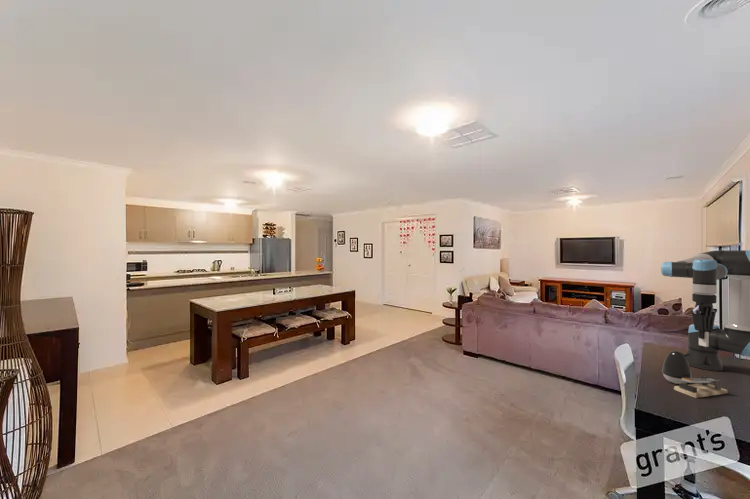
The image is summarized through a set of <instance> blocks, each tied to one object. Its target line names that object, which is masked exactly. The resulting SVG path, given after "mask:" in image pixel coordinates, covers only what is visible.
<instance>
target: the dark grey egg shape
mask: <svg viewBox="0 0 750 499" xmlns="http://www.w3.org/2000/svg"><path fill="white" fill-rule="evenodd" d="M687 356H690V354H689V353H688V354H686V353H683V352H681V351H678V350H671V351H670V352H669V353H668V354H667V355H666V357H665V359H664V361H663V365H662V368H661V369H662V370H661V372H662V374H663V377H664V379H666V381H668V382H669V383H672V384H675V385H679V384H681V383H684V384H687V385H688V384H689V382H686V381H684V380H682V378H692V370H691V366H690V365H689V363H688V361H687V359H686V357H687Z"/></svg>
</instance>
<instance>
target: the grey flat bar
mask: <svg viewBox="0 0 750 499" xmlns="http://www.w3.org/2000/svg"><path fill="white" fill-rule="evenodd" d="M682 380H684V381H686V382H688V384H689V383H690V384H698V383H708V384H710V383H714V384H715V380H716V379H713V378H709V377H708V378H702V377H691V378H682Z"/></svg>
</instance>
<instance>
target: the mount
mask: <svg viewBox="0 0 750 499" xmlns="http://www.w3.org/2000/svg"><path fill="white" fill-rule="evenodd" d="M701 378H709V376H707V375H701ZM714 380H715V383H714V385H713V384H710V383H690V384H688V383H687V384H684V383H681V384H678V385H675V386H674V387H673V391H677V392H679V393H682V394H684V395H687V396H690V397H691V398H692V397H693V398H695V399H697V398H704V397H710V396H711V397H713V396H718V395H719V396H720V395H727V394H728V389H725V388H722V380H721V379H714Z"/></svg>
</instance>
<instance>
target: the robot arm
mask: <svg viewBox="0 0 750 499" xmlns="http://www.w3.org/2000/svg"><path fill="white" fill-rule="evenodd" d="M660 273H661V275H662V276H664V277H670V278H683V279H684V278H685V279H688V278H689V279H692V285H691V287H692V292H693V293H692V296H691V298H692V299H691V300H692V302H695V305H694V308H693V309H692V308H691V309H690V311H691V315H692V321H693V323H692V324H690V325H689V326H688V331H687V334H688V336H687V337H688V338H687V339H688V340H687V342H688V343H687V344H688V345H687V351H686V353H685V354H688V353H689V354H690V356H687V357H686V359H687V361H688V363H689V366H690V367H693V368H697V369H701V370H707V371H714V372H722V371H723V370H724V369H723V368H724V366H723V363H722V360H721V358H720V355H719V352H725V353H729V354H735V355H739V356H742V357H750V250H748V249H747V250H746V249H745V250H743V249H742V250H740V249H739V250H734V249H733V250H729V249H727V250H722V249H718V250H717V249H716V250H710V251H705V252H701V253H697V254H694V255H692V257H689V258H686V259H683V260H678V261H663V262H662V264H661V266H660ZM726 276H727V277H728V279H729V281H730V283H729V299H728V300H729V301H728V302H729V303H728V304H729V305H728V323H727V324H725V325H724V326H723V328H720V326H719V325H717V324H714V323H715V320H716V314H717V312H718V309H717V308H714V305H713V304H717V295H716V294H717V293H718V292H717V291H718V288H717V286H718V285H717V284H718V283H717V281H718V280H721V279H723V278H725V277H726Z"/></svg>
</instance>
